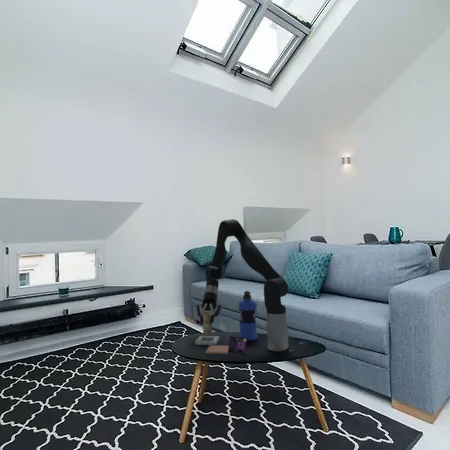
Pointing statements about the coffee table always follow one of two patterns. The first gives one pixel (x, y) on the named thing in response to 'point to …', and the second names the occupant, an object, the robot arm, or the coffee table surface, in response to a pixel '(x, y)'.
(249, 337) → the water bottle
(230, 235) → the robot arm
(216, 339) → the pocket block
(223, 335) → the coffee table surface
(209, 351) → the terracotta tile
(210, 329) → the birch peg
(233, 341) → the purple toy figure
